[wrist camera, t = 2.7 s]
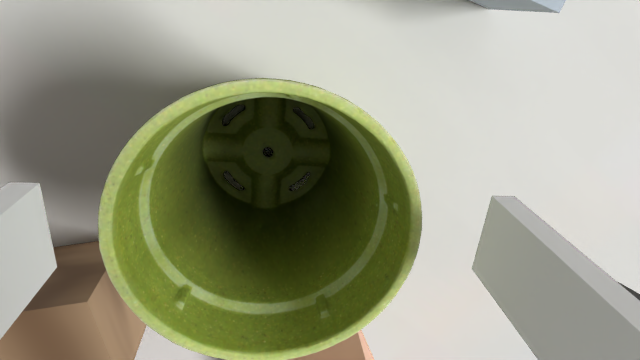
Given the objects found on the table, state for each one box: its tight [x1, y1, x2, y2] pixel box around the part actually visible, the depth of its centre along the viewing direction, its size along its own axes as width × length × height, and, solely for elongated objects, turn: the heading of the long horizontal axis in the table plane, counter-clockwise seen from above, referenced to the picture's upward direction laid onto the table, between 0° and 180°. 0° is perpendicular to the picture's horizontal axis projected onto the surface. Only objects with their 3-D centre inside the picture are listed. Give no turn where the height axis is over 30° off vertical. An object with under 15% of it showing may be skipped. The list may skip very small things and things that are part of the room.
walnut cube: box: [0, 241, 146, 360], centre depth 20 cm, size 5×5×5 cm
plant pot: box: [98, 78, 422, 360], centre depth 16 cm, size 9×9×9 cm
